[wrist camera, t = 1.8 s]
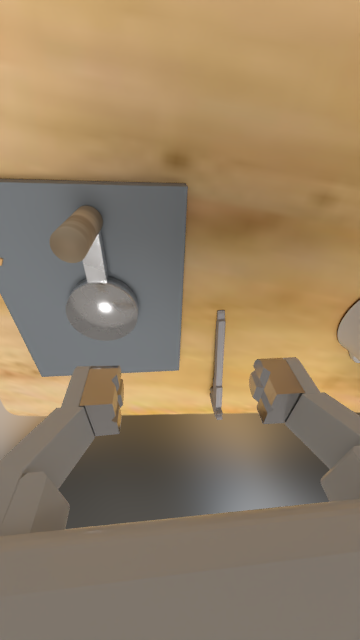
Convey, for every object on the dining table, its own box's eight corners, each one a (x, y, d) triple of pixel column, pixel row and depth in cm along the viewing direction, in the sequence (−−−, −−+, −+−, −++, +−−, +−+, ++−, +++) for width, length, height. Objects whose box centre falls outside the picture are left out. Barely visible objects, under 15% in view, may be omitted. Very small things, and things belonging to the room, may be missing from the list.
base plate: (185, 183, 24) (187, 187, 22) (177, 360, 40) (179, 371, 38) (-43, 177, 22) (-60, 181, 20) (45, 366, 38) (40, 377, 36)
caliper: (214, 393, 47) (222, 423, 42) (209, 393, 47) (216, 424, 42) (223, 308, 34) (236, 337, 29) (216, 309, 34) (227, 338, 29)
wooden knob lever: (140, 329, 32) (137, 370, 26) (78, 331, 31) (62, 373, 26) (129, 206, 23) (122, 228, 17) (41, 204, 22) (3, 228, 16)
